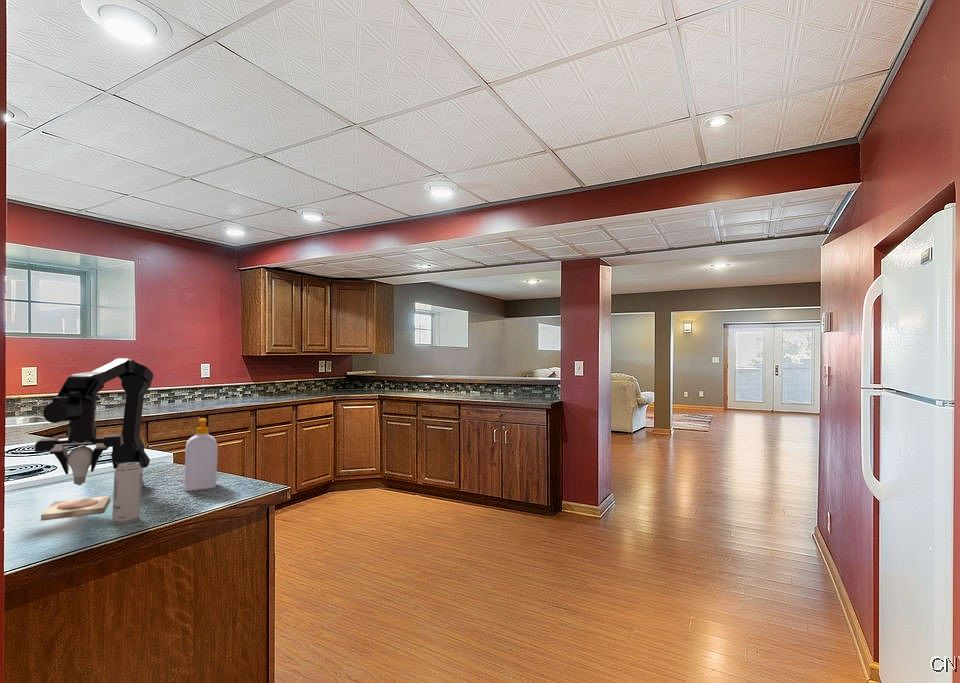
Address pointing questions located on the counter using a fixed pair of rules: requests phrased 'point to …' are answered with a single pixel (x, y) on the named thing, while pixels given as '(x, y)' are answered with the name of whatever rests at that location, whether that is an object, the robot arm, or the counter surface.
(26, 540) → the counter surface
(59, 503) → the birch board
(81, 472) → the lightbulb
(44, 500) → the counter surface
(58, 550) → the counter surface
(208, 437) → the soap bottle
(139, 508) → the energy drink can
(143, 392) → the robot arm
